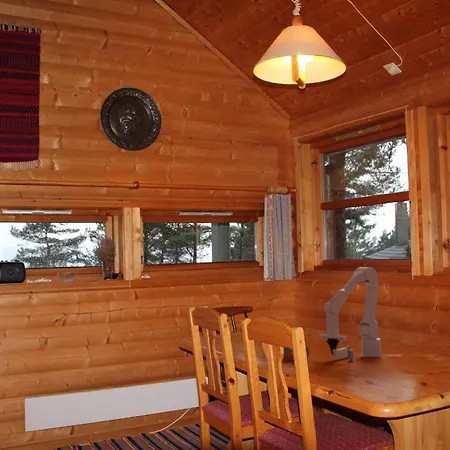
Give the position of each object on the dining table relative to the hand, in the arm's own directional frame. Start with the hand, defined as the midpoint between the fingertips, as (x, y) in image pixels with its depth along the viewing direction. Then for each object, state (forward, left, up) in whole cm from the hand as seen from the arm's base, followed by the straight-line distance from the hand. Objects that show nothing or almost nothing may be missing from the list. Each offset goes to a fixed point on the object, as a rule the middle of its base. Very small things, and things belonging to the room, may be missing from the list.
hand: (333, 354), depth 301 cm
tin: (+18, +4, -3) cm, 19 cm away
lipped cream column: (-3, -2, -2) cm, 4 cm away
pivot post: (-7, -8, -2) cm, 10 cm away
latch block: (-9, +2, -2) cm, 9 cm away
